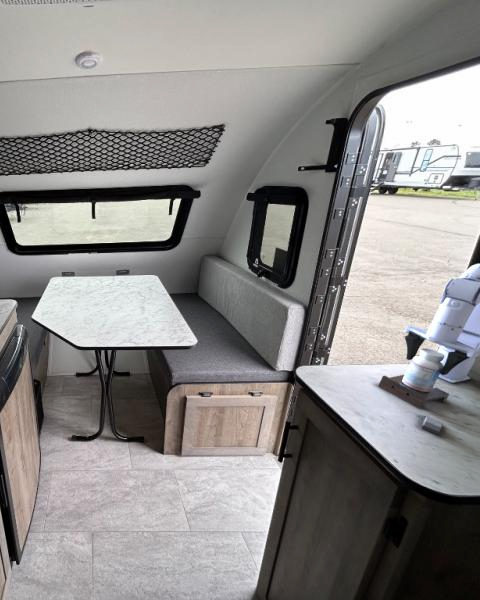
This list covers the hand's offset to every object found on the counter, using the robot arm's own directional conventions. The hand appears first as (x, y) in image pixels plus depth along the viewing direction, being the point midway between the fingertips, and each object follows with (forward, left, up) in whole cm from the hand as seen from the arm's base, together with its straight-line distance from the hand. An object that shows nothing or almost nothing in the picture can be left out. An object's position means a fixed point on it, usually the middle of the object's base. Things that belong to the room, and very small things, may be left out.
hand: (425, 366), depth 91 cm
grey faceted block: (+13, +11, -9) cm, 19 cm away
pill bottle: (0, 0, -7) cm, 7 cm away
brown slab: (+1, 0, -9) cm, 9 cm away
